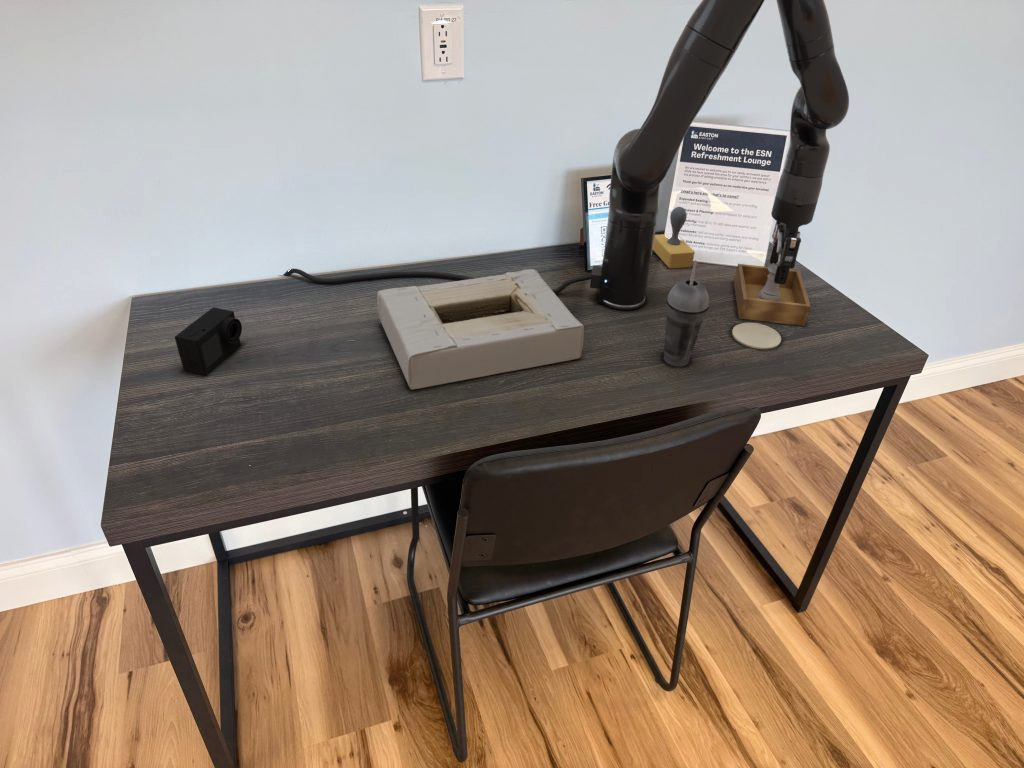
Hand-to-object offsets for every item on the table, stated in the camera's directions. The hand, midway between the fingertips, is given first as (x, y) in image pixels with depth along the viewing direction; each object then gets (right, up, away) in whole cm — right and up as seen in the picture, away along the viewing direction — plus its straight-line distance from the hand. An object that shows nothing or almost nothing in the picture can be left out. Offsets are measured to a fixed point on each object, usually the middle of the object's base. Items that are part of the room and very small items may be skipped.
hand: (777, 273), depth 145 cm
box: (-59, -14, -11) cm, 62 cm away
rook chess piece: (0, -5, +4) cm, 7 cm away
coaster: (-6, -13, -7) cm, 16 cm away
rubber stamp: (-17, +6, +20) cm, 27 cm away
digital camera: (-104, -18, -19) cm, 107 cm away
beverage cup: (-23, -18, -14) cm, 32 cm away
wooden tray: (0, -6, +4) cm, 7 cm away
